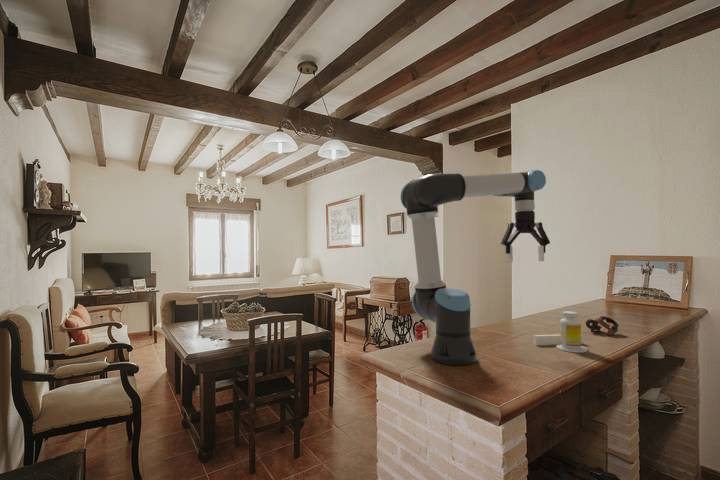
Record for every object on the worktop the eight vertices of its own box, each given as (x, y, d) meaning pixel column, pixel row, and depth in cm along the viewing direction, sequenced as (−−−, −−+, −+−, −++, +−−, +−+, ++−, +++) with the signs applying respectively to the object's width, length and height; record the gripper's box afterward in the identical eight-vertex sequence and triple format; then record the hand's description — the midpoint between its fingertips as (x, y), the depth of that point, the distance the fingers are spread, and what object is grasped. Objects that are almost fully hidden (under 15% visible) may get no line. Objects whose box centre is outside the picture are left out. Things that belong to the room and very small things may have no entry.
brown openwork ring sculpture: (604, 331, 161) (614, 316, 157) (615, 345, 153) (625, 331, 149) (578, 324, 162) (587, 310, 158) (587, 338, 153) (596, 323, 149)
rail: (535, 345, 138) (535, 336, 138) (533, 344, 140) (533, 335, 140) (582, 343, 140) (582, 334, 140) (579, 342, 141) (579, 333, 141)
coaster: (567, 353, 128) (567, 351, 128) (550, 345, 138) (550, 343, 138) (594, 352, 129) (594, 350, 129) (575, 344, 139) (575, 342, 139)
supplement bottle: (585, 348, 131) (585, 313, 131) (570, 350, 129) (570, 314, 130) (571, 343, 138) (570, 310, 138) (556, 345, 136) (555, 311, 136)
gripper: (547, 211, 156) (548, 260, 156) (492, 212, 154) (493, 261, 154) (558, 210, 149) (559, 261, 149) (500, 210, 147) (501, 262, 147)
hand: (525, 261), depth 151 cm, fingers open, 13 cm apart
